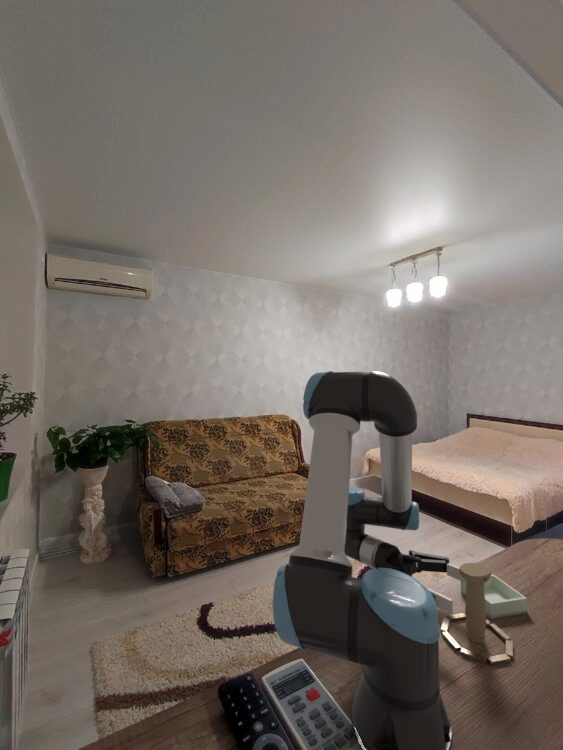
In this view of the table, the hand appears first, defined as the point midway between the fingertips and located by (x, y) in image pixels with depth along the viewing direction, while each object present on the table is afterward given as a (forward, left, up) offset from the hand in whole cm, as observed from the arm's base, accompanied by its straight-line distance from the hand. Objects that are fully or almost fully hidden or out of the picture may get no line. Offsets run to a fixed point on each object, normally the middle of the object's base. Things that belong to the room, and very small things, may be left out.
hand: (464, 593), depth 75 cm
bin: (+14, +7, -8) cm, 17 cm away
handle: (+1, -3, -9) cm, 9 cm away
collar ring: (+1, -3, -8) cm, 9 cm away
